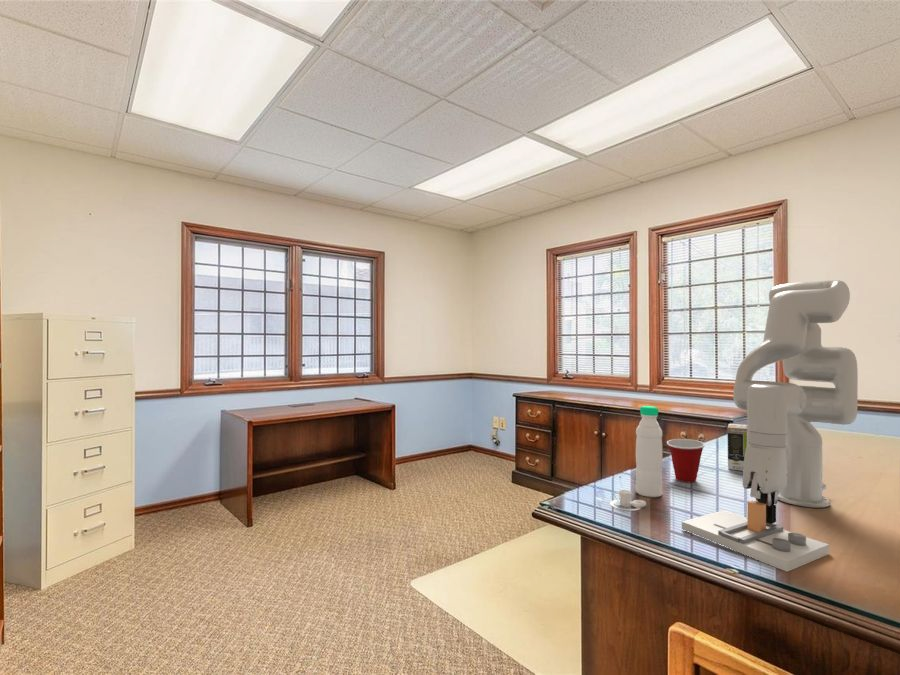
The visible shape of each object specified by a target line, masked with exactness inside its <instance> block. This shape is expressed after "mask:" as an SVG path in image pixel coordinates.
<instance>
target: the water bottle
mask: <svg viewBox="0 0 900 675" xmlns="http://www.w3.org/2000/svg"><path fill="white" fill-rule="evenodd" d="M639 412H640V417H641V419H640V421H639V423H638V425H637V427H636V429H635V434H636V440H635V465H636V468H635V479H636V480H635V492H636V494H638V495H639V496H642V497H646V498H659V497H661V496H662V495H663V484H662V483H663V471H662V470H663V469H662V467H663V439H662V438H663V430H662V427H661V426H660V424H659V422H658V420H657V418H658V415H659V409H658V407H657V406H652V405H643V406H641V407H640V410H639Z"/></svg>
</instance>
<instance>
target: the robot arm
mask: <svg viewBox="0 0 900 675" xmlns="http://www.w3.org/2000/svg"><path fill="white" fill-rule="evenodd" d="M850 299H851V292H850V289H849V286H848V284H847V283H846V282H845V281H842V280H836V279H835V280H833V279H832V280H819V281H818V280H817V281H800V282H790V283H784V284H783V283H782V284H779V285H776V286H773V287H772V288H770V289H769V293H768V300H769V305H768V312H767V316H766V322H765V328H764V329H765V330H764V336H763V341H762V342H761V344H759V345H758V346H757V347H755V348H754V349H752V350H751V351H750V352H749V353H748V354H747V355H746V356H745V357H744V358H743V359H742V361H741V362H740V364H739V366H738V368H737V370H736V376H735V379H734V383H733V384H734V385H733V393H732V394H733V395H732V397H733V402H734V405H735V406H736V407H737V408H738V409H740V410H741V411H745V412H746V425H747V447H746V451H745V457H744V466H743V471H742V487H743V488H744V489H747V490H750V492H749V493H750V494H749V497H750V498H753V499H755V501H757V502H760V503H764V504H766V523H769V524H772V523H775V524H776V523H777V504H778V500H779V501H781V502H783V503H786V504H790V505H795V506H799V507H805V508H817V509H819V508H821V509H822V508H828V507H829V506H830V499H828V498H827V497H825V496H824V495H823V491H824V490H826V489H827V484H825V483H824V482H823V439H822V438H823V437H822V435H821V433H820V432H819V431H818V430H817V428H815V427H814V425H813V424H812V423H821V424H822V423H823V424H831V425H851V424H853V423H854V422H855V421H856V419H857V415H858V404H859V403H858V402H859V401H858V399H859V398H858V387H859V386H858V374H859V373H858V362H857V357H856V355H855V353H854V352H853V350H851V349H849V348H848V347H842V346H841V347H840V346H822V329H821V326H820V325H819V324H831V323H835V322H838V321H839V320H840V319H841V317H842V316H843V315H844V313H845V311H847V310H846V309H847V308H848V306H849V304H850ZM780 361H782V370H783V374H784V375H785V377H787V378H788V379H790V380H795V381H803V382H817V383H818V382H819V383H831V384H833V385H834V387H825V386H824V387H823V386H814V385H813V386H812V385H798V384H796V383H791V382H783V381H781V382H780V381H769V380H767V381H765V380H753V377H754V375H755V374H757V372H758V371H760V370H761V369H763V368H765V367H766V366H769V365H772V364H775V363H778V362H780Z"/></svg>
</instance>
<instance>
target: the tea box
mask: <svg viewBox="0 0 900 675" xmlns="http://www.w3.org/2000/svg"><path fill="white" fill-rule="evenodd" d="M726 431H727V469H728V470H732V471H741V472H743V466H744V457H745V451H746V447H747V424H739V423H738V424H737V423H728V425H727V430H726Z"/></svg>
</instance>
